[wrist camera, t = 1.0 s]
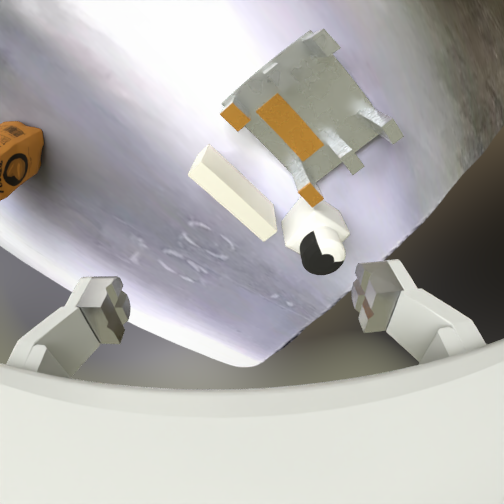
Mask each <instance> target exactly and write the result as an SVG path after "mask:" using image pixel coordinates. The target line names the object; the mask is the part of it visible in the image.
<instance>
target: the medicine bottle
mask: <svg viewBox="0 0 504 504" xmlns="http://www.w3.org/2000/svg"><path fill="white" fill-rule="evenodd" d="M281 224H282V229H283V235H284V241H285V246H286V247H287V248H289V249H291V250H293V251H295V252H297V253H299V254H300V255H301V259H302V263H303V266H304V268H305V269H306V270H307V271H308V272H310V273H312V274H316V275H326V274H330V273H332V272H334V271H336V270H337V269H338V268H339V267H340V266H341V265H342V264H343V262H344V260H345V255H346V254H345V249H344V247H343V244H342V243H343V241H344V240H345V239H346V238H347V237H348V236H349V235H350V232H349V230H348V228H347V226H346V224H345V222H344V220H343V218H342V216H341V214H340V212H339V210H337V209H336V208H334V207H333V206H331V205H330V204H328V203H327V202H325V201H324V200H322V201H321V202H319V203H318V204H317V205H315V206H314V207H313V208H312V207H311V206H310V205H309V204H308V203H307V202H306V200H305V199H304V198H303V197H302V196H301V197H300V198H299V199H298V201H297V202H296V203H295V204H294V206H293V207H292V208H291V209H290V211H289V212H288V213H287V215H286V216H285V217H284V218H283V220H282V221H281Z"/></svg>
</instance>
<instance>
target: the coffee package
mask: <svg viewBox="0 0 504 504" xmlns="http://www.w3.org/2000/svg"><path fill="white" fill-rule="evenodd" d="M43 145H44V140H43V133H42V130H41V129H39V128H35V127H28V126H26V125H24V124H23V123H21V122H18V121H10V122H3V123H2V124H0V201H1V200H2V199H4V198H7V197H8V196H9V195H10V194H11V193H12V192H13V191H14V190H15V189H16V188H18V187H19V186H20V185H21V184H22V183H24V182H25V181H27V180H28V179H29V178H31V177H32V176H34V175H35V174H37V172H38V170H39V168H40V166H41V161H40V158H41V151H42V147H43Z"/></svg>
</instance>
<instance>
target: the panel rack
mask: <svg viewBox="0 0 504 504" xmlns="http://www.w3.org/2000/svg"><path fill="white" fill-rule="evenodd" d="M338 49H340V46H339V45H338V44H337V43H336V42H335V41H334V40H333V38H332V37H331V36H330V35H329V34H328V33H327V32H326V31H325V30H324V29H321V30H319V31H316V32H314V33H313V32H312V31H311V30H310V31H308V32H307V33H305V34H304V35H302V36H301V37H300V38H298V39H297V40H296V41H294V42H293V43H292V44H290V45H289V46H288V47H287V48H285V49H284V50H283V51H281V52H280V53H279V54H278V55H276V56H275V57H274V58H273V59H271V60H270V61H269V62H268V63H267V64H265V65H264V66H263V67H262V68H261V69H259V70H258V71H257V72H256V73H255V74H254V75H252V76H251V77H250V78H249V79H248V80H247V81H245V82H244V83H243V84H242V85H241V86H240V87H239V88H238V89H236V90H235V91H234V92H233V93H232V94H231V95H230V96H229V97H228V98H227V99H226V100H225V101H223V102H222V105H223V106H224V107H223V109H222V111H221V113H220V115H221V116H222V117H223V118H224V119H225V120H226V121H227V122H228V123H229V124H230V125H232V126H233V127H234V128H235V129H236V130H237V131H239V130H240V129H242V128H243V127H244V126H245V127H246V128H247V129H248V130H249V131H250V132H251V133H252V134H253V135H254V136H255V137H256V138H257V139H258V140H259V141H260V142H261V143H262V144H263V145H264V146H265V147H266V148H267V149H268V150H269V151H270V152H271V153H272V154H273V155H274V156H275V157H276V158H277V159H278V160H279V161H280V162H281V163H282V164H283V165H284V166H285V167H286V168H287V169H288V170H289V171H290V173H291V174H292V176H293V178H294V181H295V184H296V187H297V190H298V193H299V194H300V195H301V196H302V197H303V198H304V199H305V200H306V202H307V203H308V204H309V205H310V206H311V207H312V208H313V207H314V206H315V205H317V204H318V203H319V202H321V201H322V200H323V199H324V198H323V196H322V194H321V191H320V189H319V187H318V185H317V183H316V182H318V181H319V180H320V179H321V178H323V177H324V176H325V175H327V174H328V173H329V172H330V171H332V170H333V169H334V168H336V167H337V166H338V165H340V164H341V163H342V162H343V163H344V165H345V166H346V167H347V168H348V170H349V171H350V172H351V174H352V175H354V174H355V173H356V172H358V171H359V170H360V169H362V168H363V167H364V165H363V164H362V162H361V161H360V159H359V158H358V157H357V155H356V154H355V152H356V151H358V150H359V149H360V148H362V147H363V146H364V145H366V144H367V143H368V142H369V141H371V140H372V139H373V138H375V137H376V136H377V135H380V136H382V137H383V138H384V139H386V140H387V141H389V142H390V143H391V144H394V143H396V142H397V141H398V140H400V139H401V138H402V137H404V136H403V134H402V132H401V131H400V129H399V127H398V126H397V124H396V123H395V121H394V119H393V118H391V117H389V116H387V115H385V114H383V113H381V112H379V111H377V110H375V108H374V107H373V106H372V104H371V103H370V101H369V100H368V99H367V97H366V96H365V95H364V93H363V92H362V90H361V89H360V88H359V87H358V85H357V84H356V83H355V81H354V80H353V79H352V77H351V76H350V75H349V74H348V72H347V71H346V70H345V69H344V67H343V66H342V65H341V64H340V63H339V61H338V60H337V59H336V58H335V57H334V56H333V53H334V52H336V51H337V50H338Z"/></svg>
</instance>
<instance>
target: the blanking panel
mask: <svg viewBox="0 0 504 504" xmlns="http://www.w3.org/2000/svg"><path fill="white" fill-rule="evenodd" d="M188 176H189V177H190V178H191V179H193V180H194V181H195V182H196V183H197V184H198V185H200V186H201V187H202V188H203V189H204V190H205V191H206V192H208V193H209V194H210V195H211V196H212V197H213V198H214V199H216V200H217V201H218V202H219V203H220V204H221V205H223V206H224V207H225V208H226V209H227V210H228V211H229V212H230V213H232V214H233V215H234V216H235V217H236V218H237V219H238V220H240V221H241V222H242V223H243V224H244V225H245V226H246V227H248V228H249V229H250V230H251V231H252V232H253V233H254V234H255V235H257V236H258V237H259V238H260V239H261V240H262V241H263V242H264V241H266V240H267V239H268V238H270V237H271V236H272V235H273V234H275V233H276V232H277V225H276V219H275V212H274V205H273V204H272V203H271V202H270V201H269V200H268V199H267V198H266V197H265V196H264V195H263V194H262V193H261V192H260V191H259V190H258V189H257V188H256V187H255V186H254V185H253V184H252V183H251V182H250V181H248V180H247V179H246V178H245V177H244V176H243V175H242V174H241V173H240V172H239V171H238V170H237V169H236V168H235V167H234V166H233V165H231V164H230V163H229V162H228V161H227V160H226V159H225V158H224V157H223V156H222V155H221V154H220V153H219V152H217V151H216V150H215V149H214V148H213V147H212V146H211V145H210V144H208V145H207V146H206V147H205V148H204V149H203V150H202V151H201V152H200V153H199V154H198V155H197V157H196V159H195V161H194V163H193V165H192V167H191V169H190V171H189V173H188Z"/></svg>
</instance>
